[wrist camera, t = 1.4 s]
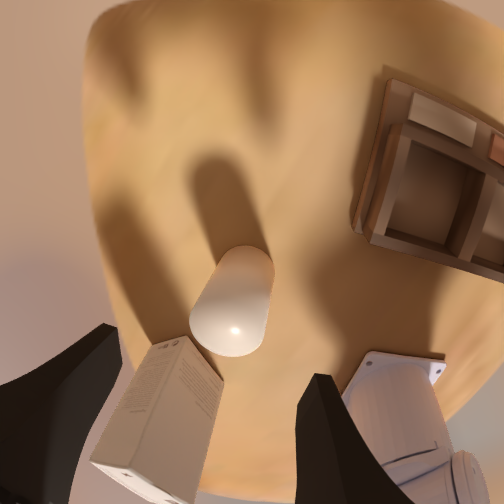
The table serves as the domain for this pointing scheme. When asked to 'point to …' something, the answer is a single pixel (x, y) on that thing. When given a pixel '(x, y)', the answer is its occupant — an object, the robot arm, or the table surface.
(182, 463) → the skincare box
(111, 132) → the table surface
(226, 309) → the plug
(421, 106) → the socket board
